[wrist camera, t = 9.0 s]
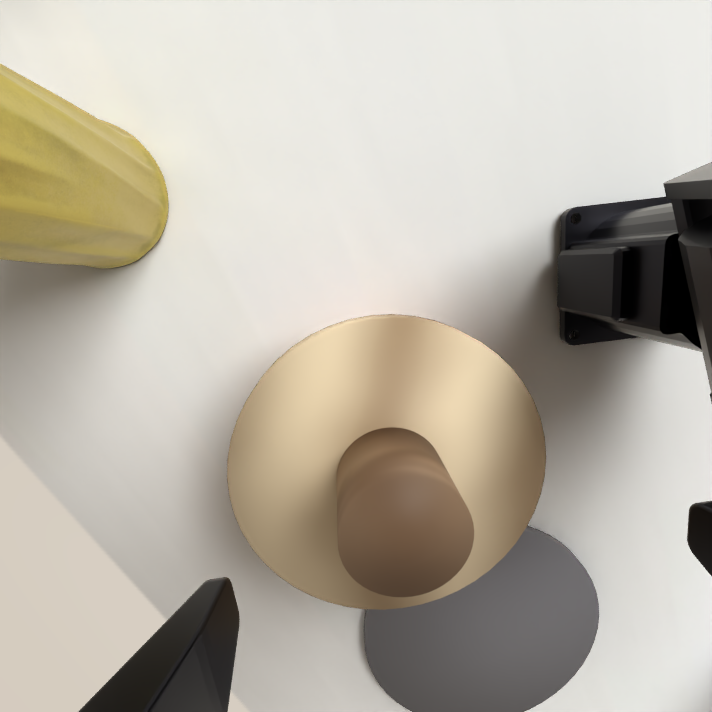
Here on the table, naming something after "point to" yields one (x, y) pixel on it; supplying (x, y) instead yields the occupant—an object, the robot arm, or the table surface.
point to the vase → (72, 183)
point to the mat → (490, 635)
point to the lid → (386, 462)
